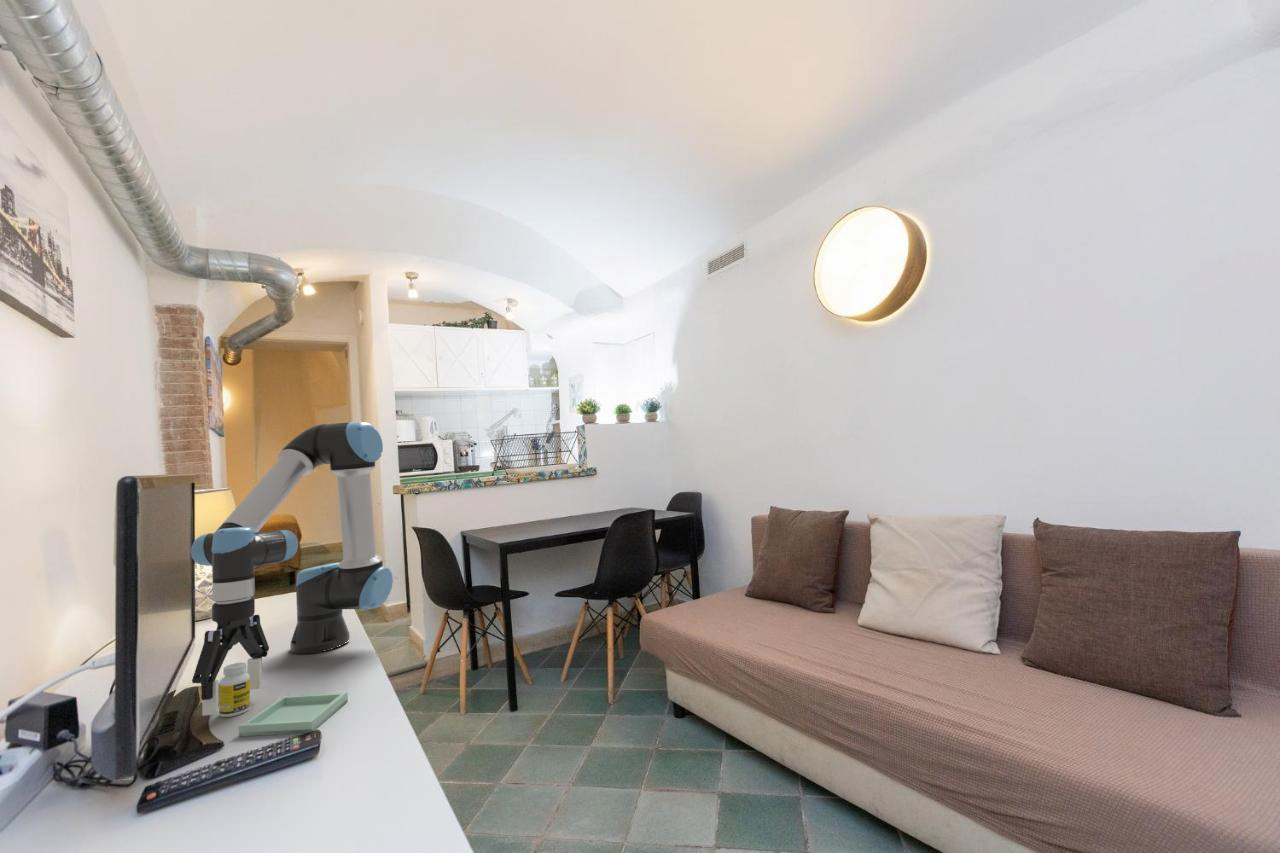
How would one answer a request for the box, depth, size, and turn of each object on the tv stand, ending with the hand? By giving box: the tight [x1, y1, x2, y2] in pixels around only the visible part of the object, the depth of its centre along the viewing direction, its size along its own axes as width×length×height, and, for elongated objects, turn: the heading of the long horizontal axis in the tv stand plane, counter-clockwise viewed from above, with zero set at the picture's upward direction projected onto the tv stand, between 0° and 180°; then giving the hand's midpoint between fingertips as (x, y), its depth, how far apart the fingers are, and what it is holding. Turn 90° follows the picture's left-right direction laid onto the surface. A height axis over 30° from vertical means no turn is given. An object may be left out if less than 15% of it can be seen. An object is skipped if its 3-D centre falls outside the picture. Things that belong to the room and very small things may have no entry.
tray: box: [238, 692, 349, 738], centre depth 118 cm, size 14×14×2 cm
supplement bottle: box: [218, 662, 251, 718], centre depth 123 cm, size 5×5×10 cm
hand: (233, 700), depth 122 cm, fingers open, 13 cm apart
